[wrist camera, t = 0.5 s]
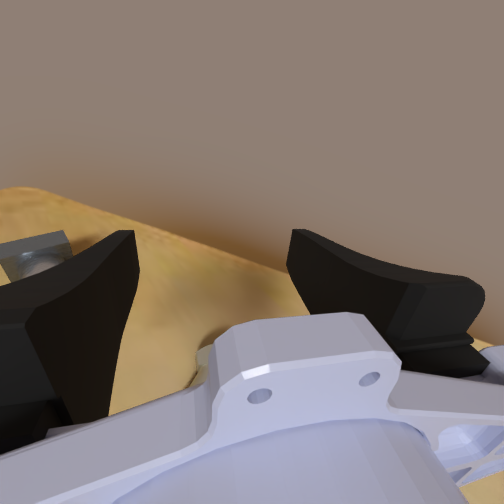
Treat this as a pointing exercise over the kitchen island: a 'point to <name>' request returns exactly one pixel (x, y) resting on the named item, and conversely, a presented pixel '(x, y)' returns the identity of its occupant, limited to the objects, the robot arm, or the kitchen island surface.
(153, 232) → the kitchen island surface
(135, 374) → the kitchen island surface
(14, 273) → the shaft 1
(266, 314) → the kitchen island surface
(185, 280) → the kitchen island surface
